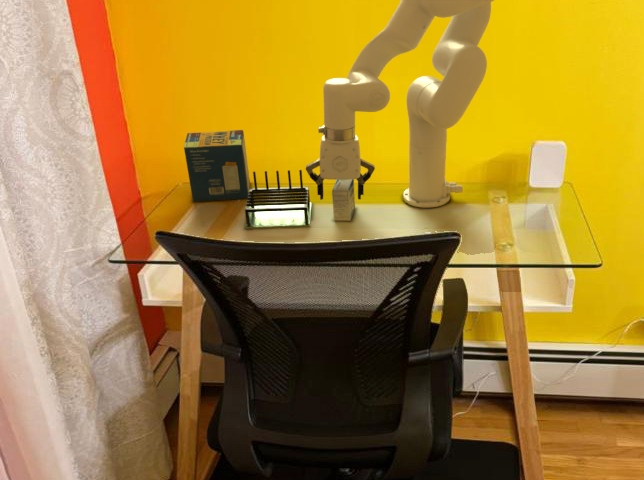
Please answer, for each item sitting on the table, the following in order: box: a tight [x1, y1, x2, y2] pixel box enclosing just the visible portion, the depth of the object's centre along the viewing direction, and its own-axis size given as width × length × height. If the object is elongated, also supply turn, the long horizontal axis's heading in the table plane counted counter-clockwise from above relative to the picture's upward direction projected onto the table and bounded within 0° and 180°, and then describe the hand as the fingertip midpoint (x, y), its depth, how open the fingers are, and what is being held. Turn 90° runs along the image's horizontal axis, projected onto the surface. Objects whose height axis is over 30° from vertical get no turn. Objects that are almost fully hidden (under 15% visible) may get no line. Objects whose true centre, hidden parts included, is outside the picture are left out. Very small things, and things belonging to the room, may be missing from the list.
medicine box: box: [331, 179, 356, 222], centre depth 202 cm, size 8×4×9 cm, turn 171°
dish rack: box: [244, 169, 312, 230], centre depth 202 cm, size 16×13×10 cm
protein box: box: [183, 129, 251, 203], centre depth 213 cm, size 10×15×16 cm
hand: (340, 197), depth 201 cm, fingers open, 9 cm apart
